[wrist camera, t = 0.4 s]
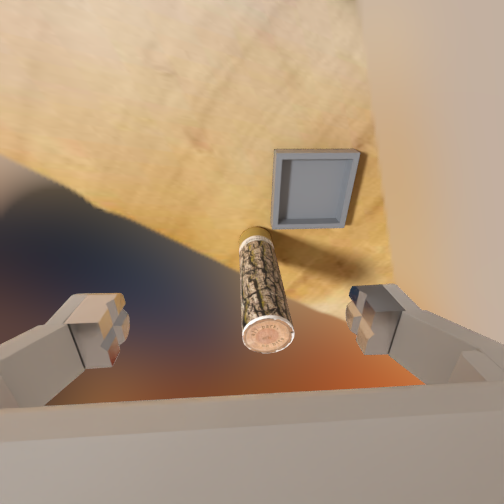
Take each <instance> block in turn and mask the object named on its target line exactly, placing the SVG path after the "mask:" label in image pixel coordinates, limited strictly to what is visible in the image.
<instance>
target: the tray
mask: <svg viewBox="0 0 504 504" xmlns="http://www.w3.org/2000/svg"><path fill="white" fill-rule="evenodd" d="M359 157H360V152H358V151H356V150H355V149H274V162H273V182H272V202H271V226H272V229H315V228H344V226H345V221H346V217H347V212H348V208H349V203H350V198H351V194H352V189H353V185H354V180H355V175H356V171H357V166H358V162H359Z"/></svg>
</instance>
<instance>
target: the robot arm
mask: <svg viewBox="0 0 504 504" xmlns="http://www.w3.org/2000/svg"><path fill="white" fill-rule="evenodd" d="M349 297H350V298H351V300H352V301H351V302H350V303H349V304H348V305H347V308H346V321H347V324H348V327H349V329H350V330H351V331H352V332H353V333H355V334H356V335H357V338H356V341H357V343H358V345H359V346H360V348H361V350H362V351H363V353H364V355H372V354H373V355H376V354H389V356H390V357H392V358H393V359H394V360H395V361H397V362H398V363H399V364H401V365H402V366H403V367H404V368H406V369H407V370H409V371H410V372H411V373H412V374H413V375H415V376H416V377H418V378H419V379H420V380H421V381H423V382H424V383H425V384H426V385H415V386H414V385H413V386H397V387H381V388H362V389H343V390H325V391H305V392H287V393H269V394H252V395H234V396H217V397H199V398H182V399H166V400H165V399H164V400H147V401H128V402H111V403H93V404H77V405H76V404H75V405H58V406H44V405H45V404H46V403H47V402H48V401H50V400H51V399H52V398H53V397H54V396H55V395H57V394H58V393H59V392H60V391H61V390H62V389H64V388H65V387H66V386H67V385H68V384H69V383H71V382H72V381H73V380H74V379H75V378H76V377H78V376H79V375H80V374H81V373H82V372H83V371H85V369H91V368H103V367H112V366H113V365H114V363H115V360H116V358H117V356H118V354H119V352H120V348H119V345H120V344H121V343H123V342H124V341H125V340H126V338H127V335H128V333H129V327H130V322H129V315H128V313H127V312H126V311H124V310H123V309H122V308H123V307H124V305H125V300H124V297H123V295H122V294H121V293H93V294H92V293H91V294H89V293H87V294H74V295H72V296H71V297H70V298H69V299H68V300H67V301H66V302H65V304H63V305H62V307H61V308H60V309H59V310H58V311H57V312H56V313H55V314H54V315H53V316H52V317H51V318H50V319H49V321H48V322H47V323H46V324H45V325H39V326H37V327H35V328H33V329H31V330H29V331H27V332H25V333H23V334H21V335H19V336H17V337H15V338H13V339H11V340H9V341H7V342H5V343H3V344H1V345H0V504H504V345H503V344H501V343H499V342H496V341H494V340H492V339H490V338H487V337H485V336H483V335H481V334H478V333H476V332H474V331H472V330H470V329H467V328H465V327H463V326H461V325H458V324H456V323H454V322H451V321H449V320H447V319H445V318H443V317H440V316H438V315H436V314H434V313H431V312H429V311H426V310H421V309H420V308H419V307H418V306H417V305H416V304H415V303H414V302H413V301H412V300H411V299H410V298H409V297H408V296H407V295H406V294H405V293H404V292H403V291H402V290H401V289H400V288H399V287H398V286H397V285H395V284H379V285H362V286H352V287H351V289H350V293H349Z"/></svg>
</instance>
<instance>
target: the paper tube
mask: <svg viewBox="0 0 504 504" xmlns="http://www.w3.org/2000/svg"><path fill="white" fill-rule="evenodd" d="M239 256H240V284H241V313H242V337H243V342H244V344H245V345H246V346H247V347H248V348H249V349H251V350H252V351H255V352H259V353H273V352H277V351H280V350H282V349H284V348H286V347H287V346H288V345H289V344H290V343H291V342H292V340H293V338H294V328H293V325H292V321H291V316H290V312H289V308H288V304H287V299H286V295H285V291H284V287H283V283H282V279H281V275H280V270H279V266H278V262H277V258H276V254H275V250H274V246H273V242H272V238H271V235H270V234H269V232H268V231H267V230H265V229H263V228H261V227H252V228H249V229H247V230H245V231H244V232H243V233H242V234H241V236H240V239H239Z"/></svg>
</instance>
